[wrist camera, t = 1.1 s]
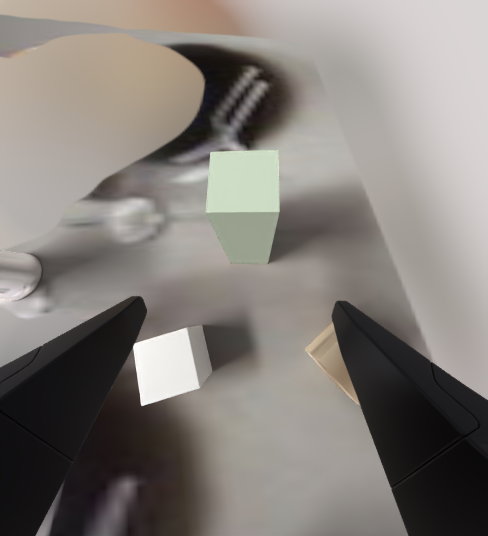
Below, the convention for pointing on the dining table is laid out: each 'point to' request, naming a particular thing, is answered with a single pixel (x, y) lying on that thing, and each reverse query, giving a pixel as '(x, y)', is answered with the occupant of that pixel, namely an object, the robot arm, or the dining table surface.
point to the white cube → (172, 364)
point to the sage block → (244, 203)
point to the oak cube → (332, 360)
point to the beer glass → (18, 275)
